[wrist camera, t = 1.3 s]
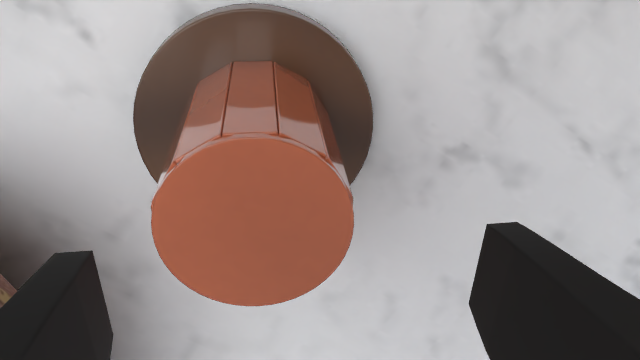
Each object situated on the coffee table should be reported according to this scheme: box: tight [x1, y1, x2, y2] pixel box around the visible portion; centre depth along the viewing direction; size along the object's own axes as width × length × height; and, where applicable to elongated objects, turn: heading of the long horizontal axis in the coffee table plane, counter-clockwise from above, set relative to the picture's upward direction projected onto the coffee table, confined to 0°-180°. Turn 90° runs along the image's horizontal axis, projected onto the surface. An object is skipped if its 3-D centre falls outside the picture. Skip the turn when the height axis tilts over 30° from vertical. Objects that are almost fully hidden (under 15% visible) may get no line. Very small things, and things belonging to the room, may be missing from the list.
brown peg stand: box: [133, 3, 373, 186], centre depth 18 cm, size 9×9×6 cm
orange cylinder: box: [151, 61, 354, 306], centre depth 17 cm, size 5×5×7 cm
